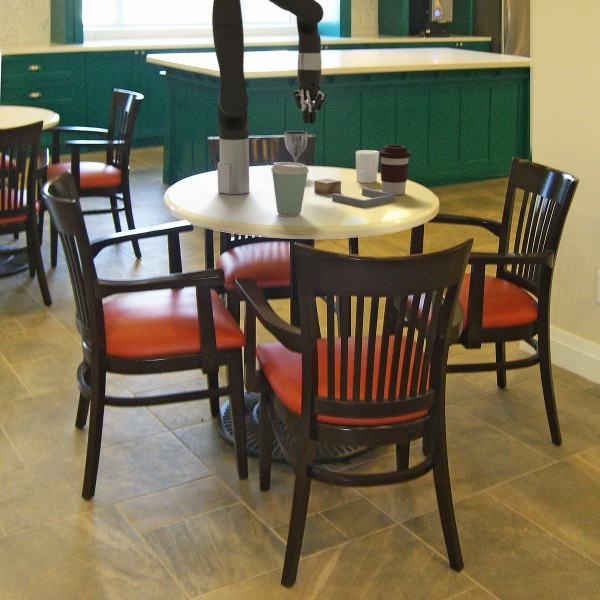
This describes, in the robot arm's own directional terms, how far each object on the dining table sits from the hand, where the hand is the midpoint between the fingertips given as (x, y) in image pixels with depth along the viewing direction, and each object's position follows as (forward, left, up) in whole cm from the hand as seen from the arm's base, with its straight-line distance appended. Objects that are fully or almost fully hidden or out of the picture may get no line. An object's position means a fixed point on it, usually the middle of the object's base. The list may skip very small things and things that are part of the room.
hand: (309, 123), depth 284 cm
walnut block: (0, -9, -21) cm, 23 cm away
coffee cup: (+15, -24, -21) cm, 35 cm away
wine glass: (+12, +20, -21) cm, 32 cm away
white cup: (+23, -4, -21) cm, 32 cm away
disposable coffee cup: (-30, -25, -21) cm, 44 cm away
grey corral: (0, -25, -21) cm, 33 cm away
